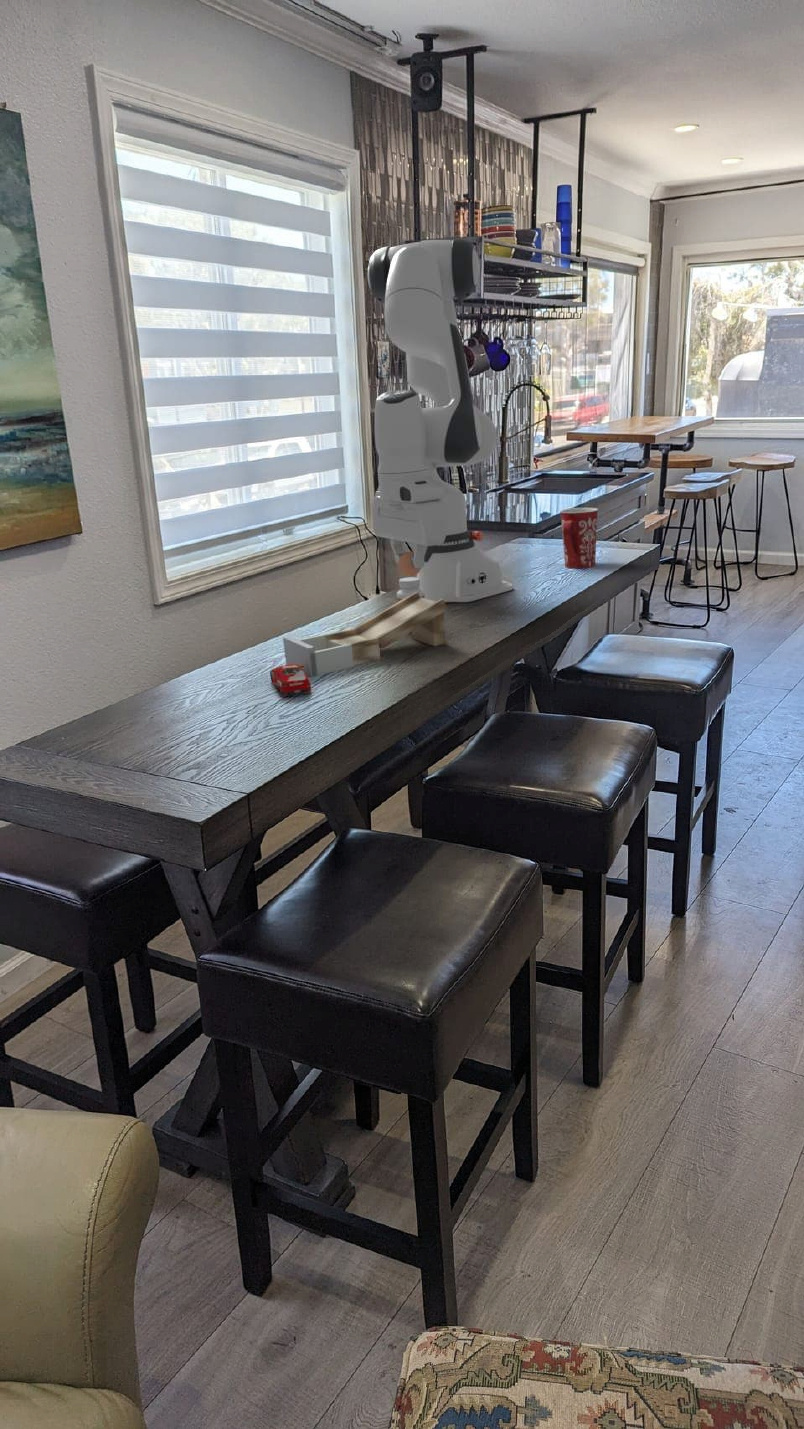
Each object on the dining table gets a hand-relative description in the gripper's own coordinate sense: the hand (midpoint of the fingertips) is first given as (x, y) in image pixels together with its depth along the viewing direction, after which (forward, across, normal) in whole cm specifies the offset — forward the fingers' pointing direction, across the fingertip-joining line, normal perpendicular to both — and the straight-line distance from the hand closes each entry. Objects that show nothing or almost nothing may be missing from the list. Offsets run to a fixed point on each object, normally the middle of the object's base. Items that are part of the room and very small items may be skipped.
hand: (410, 565), depth 177 cm
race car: (+15, +8, -29) cm, 34 cm away
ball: (0, 0, 0) cm, 0 cm away
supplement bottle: (+15, -11, +6) cm, 19 cm away
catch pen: (+15, 0, -20) cm, 25 cm away
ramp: (+15, 0, -6) cm, 16 cm away
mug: (+15, -32, +65) cm, 74 cm away
